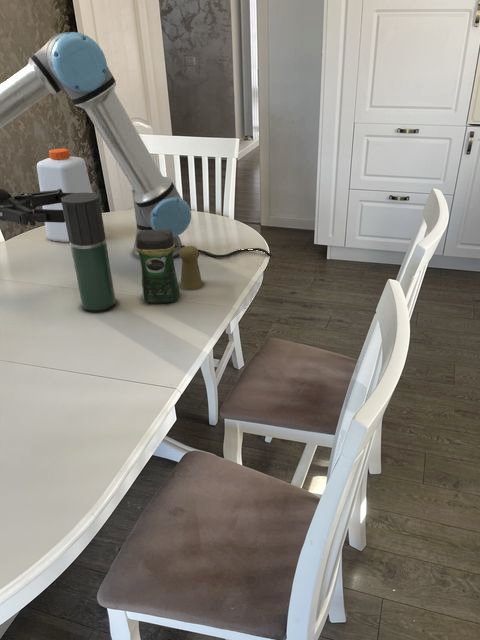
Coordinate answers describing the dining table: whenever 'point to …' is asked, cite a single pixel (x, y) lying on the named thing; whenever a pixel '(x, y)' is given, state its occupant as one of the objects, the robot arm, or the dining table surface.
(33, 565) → the dining table surface
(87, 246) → the flask
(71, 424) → the dining table surface
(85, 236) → the grey lidded canister
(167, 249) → the coffee jar
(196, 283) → the olive pawn figure
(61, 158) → the plastic bottle
